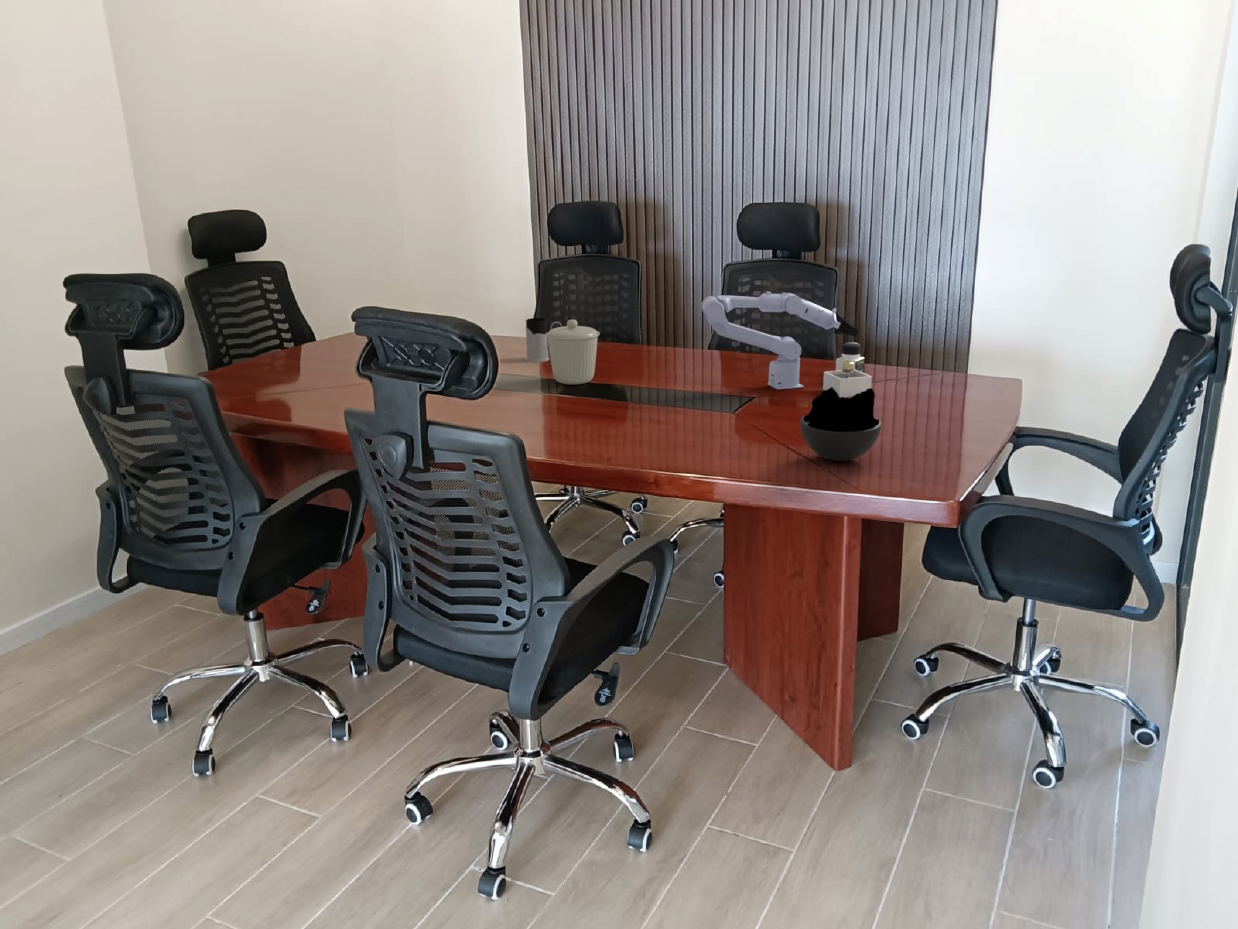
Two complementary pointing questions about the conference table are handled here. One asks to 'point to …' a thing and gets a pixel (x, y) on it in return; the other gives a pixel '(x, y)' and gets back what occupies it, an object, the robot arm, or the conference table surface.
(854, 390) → the white open box
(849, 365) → the plunger
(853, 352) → the medicine bottle
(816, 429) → the coal bowl
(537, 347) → the glass holder
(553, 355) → the canister
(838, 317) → the robot arm
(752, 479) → the conference table surface
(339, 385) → the conference table surface
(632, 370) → the conference table surface
